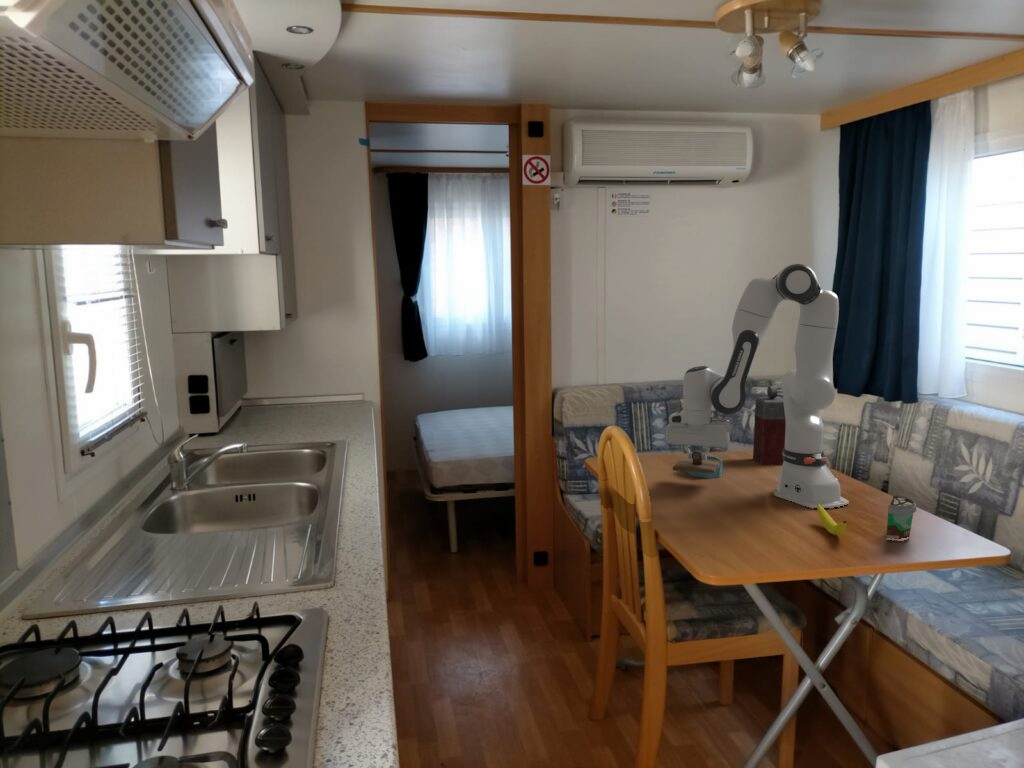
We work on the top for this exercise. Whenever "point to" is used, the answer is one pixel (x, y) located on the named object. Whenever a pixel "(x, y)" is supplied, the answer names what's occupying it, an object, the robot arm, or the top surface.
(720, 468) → the bowl
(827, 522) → the banana
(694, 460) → the lid
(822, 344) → the robot arm
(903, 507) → the food container
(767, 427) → the dark red canister
